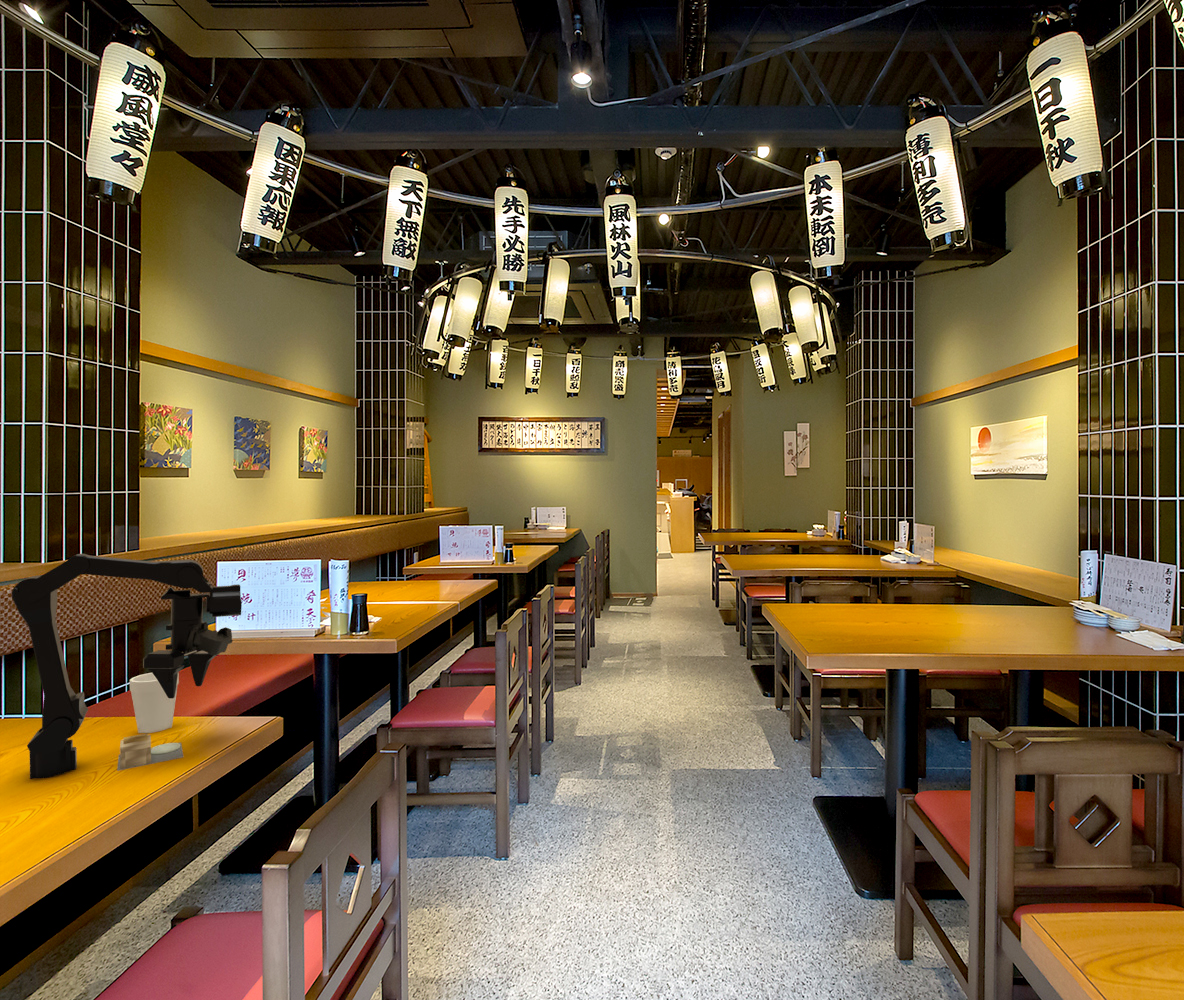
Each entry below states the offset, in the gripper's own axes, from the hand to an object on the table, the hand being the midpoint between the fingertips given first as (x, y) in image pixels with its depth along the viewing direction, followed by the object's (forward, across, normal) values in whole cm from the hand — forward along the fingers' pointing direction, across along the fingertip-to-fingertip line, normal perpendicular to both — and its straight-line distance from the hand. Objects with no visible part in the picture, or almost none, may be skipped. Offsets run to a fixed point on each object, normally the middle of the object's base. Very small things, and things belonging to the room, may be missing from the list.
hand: (185, 691), depth 138 cm
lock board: (+13, -4, +4) cm, 14 cm away
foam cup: (+13, +13, +15) cm, 24 cm away
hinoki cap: (+12, -7, +5) cm, 15 cm away
